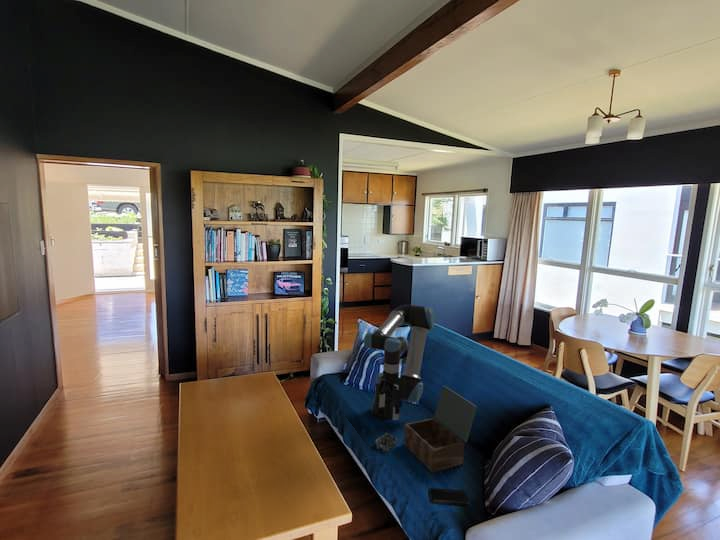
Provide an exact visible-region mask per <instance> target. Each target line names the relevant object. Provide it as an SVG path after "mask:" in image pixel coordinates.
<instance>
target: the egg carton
mask: <svg viewBox="0 0 720 540" xmlns="http://www.w3.org/2000/svg"><path fill="white" fill-rule="evenodd" d="M397 442H398V437H396V436H393V435H392V434H389V433H388V432H385V433H384V434H383V435H381V436H380V437H378V438H376V439H375V444H376V445H375V446H376V449H378V450H379V449H381V450H382V451H383V452H389V451H390V449H392V448H393V446H396V445H397ZM382 443H383V444H382ZM384 443H385V444H384Z"/></svg>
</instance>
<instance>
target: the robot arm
mask: <svg viewBox="0 0 720 540" xmlns="http://www.w3.org/2000/svg"><path fill="white" fill-rule="evenodd" d="M402 325H408V326H409V329H410V330H411V334H410V339H409V341H408V338H407V337H405V336H397V337H394V336H392V335H393V334H394V332H395V331H396V330H397V328H398V327H401V326H402ZM434 327H435V311H434V309H433V308H432V307H428V306H421V305H420V306H419V305H412V304H404V305H400V306H398V307H396V308H394V309H393V310H391V311H390V312H389V314H388V317H387V318H386V320H385V321H384V322H382V324H380V326H379V327H378V328H377V329H376V330H375V331H374V332H373V333H372V332H368V333H365V335H364V338H363V345H364V347H365V348H367V349H374V350H379V351H383V353H384V354H383V365H382V367H383V371H382V372H379V373H377V375H376V376H375V389H374V400H373V402H372V405H371V408H370V412H371V414H372V415H373V417H376V418H379V419H383V420H384V419H392V421H398V420H399V419H400V418H399V417H400V416H399V415H400V408H403V402H402V401H404V402H407V403H414V404H416V403H418V402H419V401H420V399H421V397H422V395H423V391H424V383H423V382H422V378H421V376H420V372H421V368H422V361H423V355H424V351H425V345H426V339H427V334H429V333H430V331H431V329H433V328H434ZM406 351H407V356H406V360H405V366H404V371H403V372H402V373H401V374H400V372H399V371H400V359H401V355H402V354H403V353H405V352H406ZM399 374H400V375H399ZM399 376H400V377H399Z"/></svg>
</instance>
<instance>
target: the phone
mask: <svg viewBox="0 0 720 540" xmlns="http://www.w3.org/2000/svg"><path fill="white" fill-rule="evenodd" d="M428 494H429V499H430V502H431V503H432V504H441V505H442V504H443V505H454V506H456V505H457V506H465V507H468V506H469V505H470V501H469V498H468V494H467V492H466V491H465V490H462V489H461V490H460V489H451V488H450V489H449V488H435V487H430V488H428Z"/></svg>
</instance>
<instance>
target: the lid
mask: <svg viewBox="0 0 720 540" xmlns="http://www.w3.org/2000/svg"><path fill="white" fill-rule="evenodd" d="M477 408H478V406H477V405H475V404H474V403H472V402H470V401H469V400H467V399H466V398H465V397H463V396H461V395H460V394H459V393H456V392H455V391H454V390H452V389H450V388H449V387H447V386H445V385H443V386H442V388H441V391H440V395H439V398H438V402H437V406H436V409H435V412H434V416H433V418H434V419H435V420H436V421H438V422H439V423H440V424H441V425H443V426H444V427H445V428H446V429H448V430H449V431H450V432H451V433H453V434H454V435H455V436H457V437H458V438H459V439H460V440H462V441H463V442H464V443H467V442H468V440H469V439H468V438H469V436H470V432H471V429H472V425H473V422H474V419H475V416H476V412H477Z"/></svg>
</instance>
